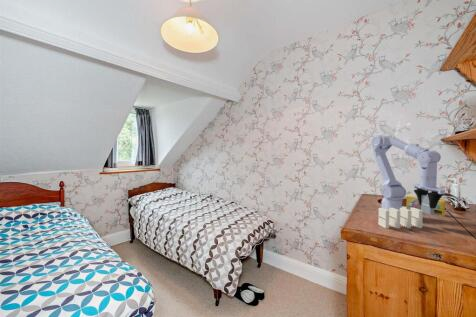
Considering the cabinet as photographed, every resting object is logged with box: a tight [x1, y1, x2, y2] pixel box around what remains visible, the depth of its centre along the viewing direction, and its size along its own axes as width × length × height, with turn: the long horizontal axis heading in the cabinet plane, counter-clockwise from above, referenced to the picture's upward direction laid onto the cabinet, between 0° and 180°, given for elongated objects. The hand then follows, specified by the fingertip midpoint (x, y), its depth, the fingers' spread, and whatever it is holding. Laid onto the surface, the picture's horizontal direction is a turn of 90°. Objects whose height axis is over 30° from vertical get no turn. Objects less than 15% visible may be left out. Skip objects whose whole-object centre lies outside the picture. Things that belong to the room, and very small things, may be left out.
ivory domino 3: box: [400, 207, 412, 229], centre depth 100 cm, size 2×5×8 cm, turn 0°
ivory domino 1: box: [378, 207, 390, 229], centre depth 100 cm, size 2×5×8 cm, turn 0°
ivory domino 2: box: [389, 208, 401, 229], centre depth 100 cm, size 2×5×8 cm, turn 0°
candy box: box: [405, 195, 446, 217], centre depth 120 cm, size 16×2×8 cm, turn 37°
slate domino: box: [421, 195, 434, 216], centre depth 100 cm, size 2×5×8 cm, turn 0°
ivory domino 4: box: [410, 208, 424, 229], centre depth 100 cm, size 2×5×8 cm, turn 0°
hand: (427, 206), depth 100 cm, fingers closed on slate domino, 5 cm apart
